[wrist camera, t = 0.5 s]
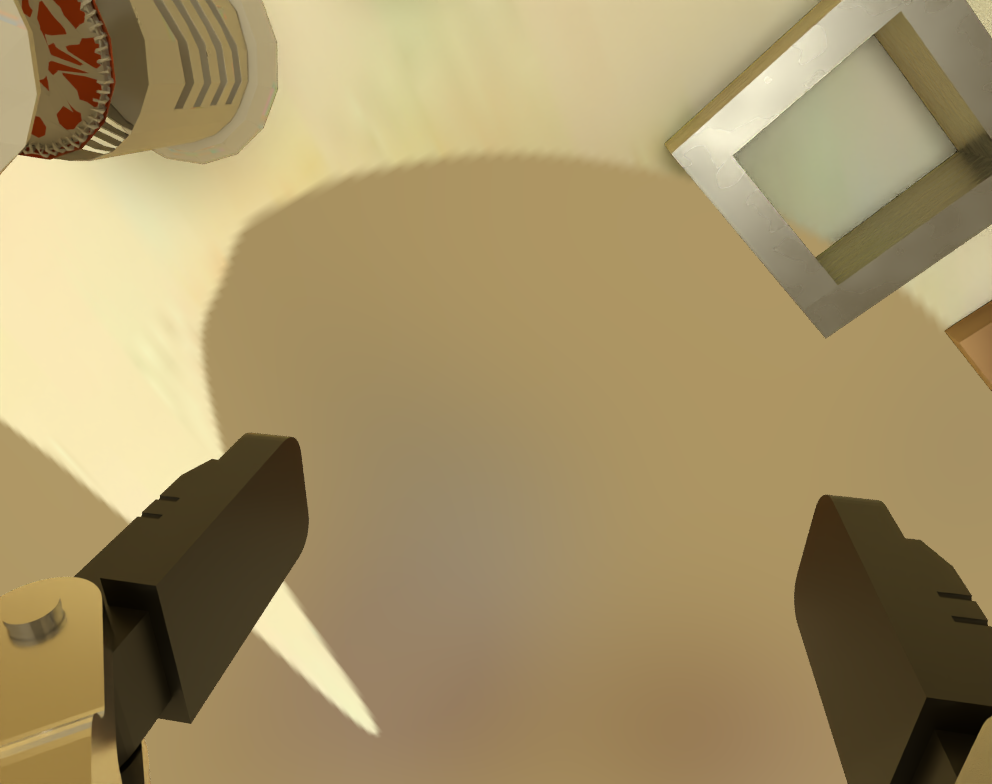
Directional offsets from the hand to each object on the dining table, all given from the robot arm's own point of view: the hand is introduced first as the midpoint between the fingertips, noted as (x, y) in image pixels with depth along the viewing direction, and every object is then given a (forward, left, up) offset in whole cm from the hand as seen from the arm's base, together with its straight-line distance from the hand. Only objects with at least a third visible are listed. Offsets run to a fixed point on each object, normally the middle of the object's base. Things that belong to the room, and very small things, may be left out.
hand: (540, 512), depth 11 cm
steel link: (-9, +5, -23) cm, 26 cm away
